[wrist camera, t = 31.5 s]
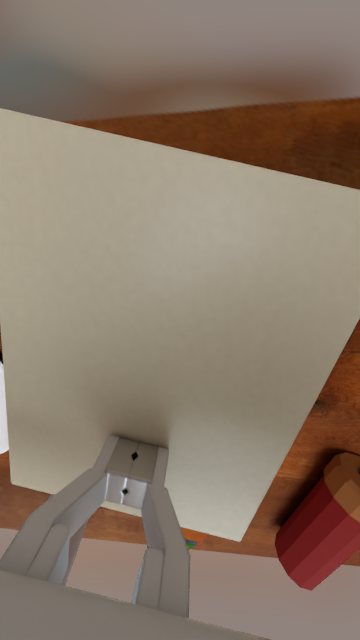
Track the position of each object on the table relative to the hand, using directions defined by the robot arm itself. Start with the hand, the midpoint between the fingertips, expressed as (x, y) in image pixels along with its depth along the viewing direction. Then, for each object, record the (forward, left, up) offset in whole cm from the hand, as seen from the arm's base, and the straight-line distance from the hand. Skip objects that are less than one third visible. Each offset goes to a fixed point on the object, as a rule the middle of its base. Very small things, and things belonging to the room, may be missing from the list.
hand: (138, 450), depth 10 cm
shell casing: (+21, +27, -15) cm, 37 cm away
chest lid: (-4, 0, -1) cm, 4 cm away
